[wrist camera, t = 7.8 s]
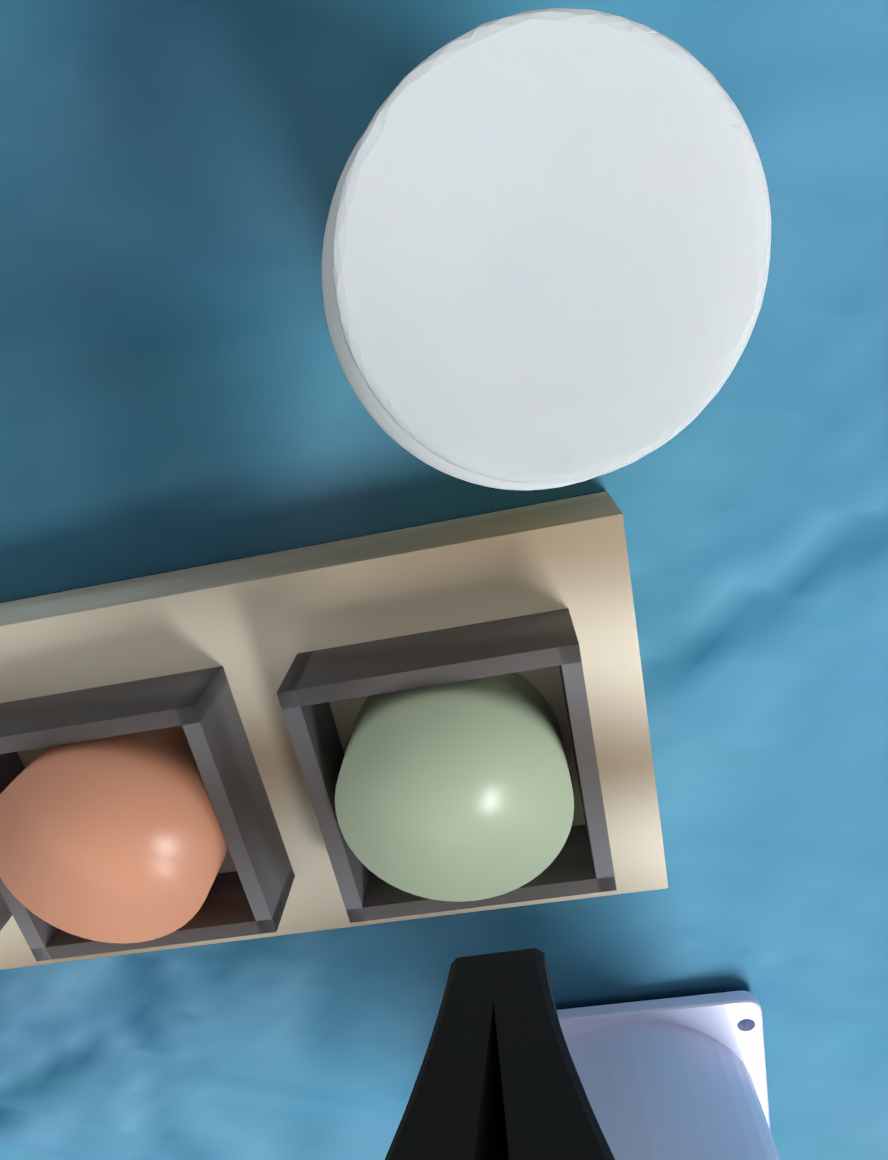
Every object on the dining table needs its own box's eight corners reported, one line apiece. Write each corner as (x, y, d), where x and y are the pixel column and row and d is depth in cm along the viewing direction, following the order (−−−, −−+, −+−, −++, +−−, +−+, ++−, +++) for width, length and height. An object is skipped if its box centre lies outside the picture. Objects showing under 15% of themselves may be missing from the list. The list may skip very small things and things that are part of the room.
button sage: (577, 824, 17) (589, 886, 16) (378, 851, 18) (366, 914, 16) (545, 641, 16) (555, 685, 14) (327, 677, 16) (307, 724, 14)
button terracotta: (263, 866, 18) (239, 930, 16) (83, 891, 19) (39, 954, 17) (202, 697, 17) (168, 746, 15) (6, 729, 17) (-51, 780, 15)
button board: (650, 834, 20) (687, 946, 17) (-142, 938, 23) (-256, 1052, 19) (606, 490, 17) (641, 539, 13) (-315, 661, 20) (-491, 739, 16)
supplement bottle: (628, 419, 16) (813, 553, 7) (392, 427, 17) (290, 566, 8) (641, 146, 14) (912, -129, 5) (374, 160, 15) (211, -74, 6)
